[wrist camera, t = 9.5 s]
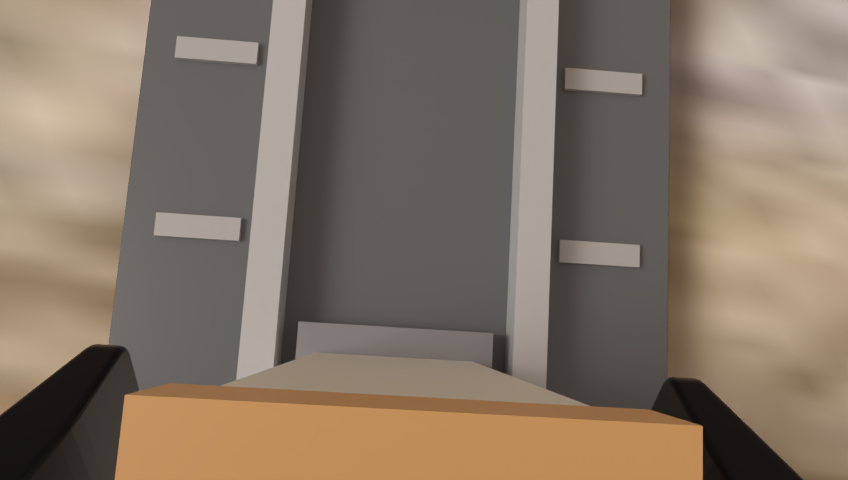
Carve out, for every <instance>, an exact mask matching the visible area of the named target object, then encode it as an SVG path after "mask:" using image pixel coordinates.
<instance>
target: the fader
mask: <svg viewBox="0 0 848 480" xmlns="http://www.w3.org/2000/svg"><path fill="white" fill-rule="evenodd" d="M492 355H493V333H482V332H466V331H449V330H433V329H416V328H399V327H383V326H366V325H350V324H333V323H316V322H300V321H298V333H297V345H296V356H295V360H293V361H290V362H287V363H284V364H281V365H278V366H275V367H273V368H270V369H267V370H264V371H261V372H258V373H255V374H252V375H250V376H247V377H244V378H241V379H238V380H235V381H232V382H230V383H227V384H224V385H221V386H212V385H194V384H176V383H169V384H165V385H161V386H157V387H153V388H149V389H145V390H141V391H137V392H134V393H130V394H126V395H125V397H124V405H123V414H122V422H121V430H120V439H119V447H118V455H117V464H116V472H115V480H703V426H701V425H698V424H695V423H692V422H688V421H685V420H682V419H679V418H675V417H672V416H669V415H666V414H662V413H659V412H656V411H653V410H649V409H631V408H612V407H594V406H589V405H587V404H584V403H581V402H579V401H576V400H573V399H571V398H568V397H565V396H563V395H560V394H557V393H555V392H552V391H549V390H547V389H544V388H542V387H539V386H536V385H534V384H531V383H528V382H526V381H523V380H520V379H518V378H515V377H512V376H510V375H507V374H504V373H502V372H499V371H497V370H494V369H492Z"/></svg>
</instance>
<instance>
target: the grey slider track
mask: <svg viewBox="0 0 848 480" xmlns="http://www.w3.org/2000/svg"><path fill="white" fill-rule="evenodd" d="M669 96H670V0H151V7H150V16H149V24H148V32H147V40H146V48H145V56H144V64H143V72H142V80H141V88H140V96H139V104H138V112H137V120H136V128H135V136H134V144H133V152H132V160H131V168H130V177H129V185H128V193H127V201H126V209H125V217H124V225H123V233H122V241H121V249H120V257H119V265H118V273H117V281H116V289H115V297H114V305H113V313H112V321H111V329H110V338H109V345H119V346H124V347H125V348H126V349H127V350H128V351H129V354H130V357H131V360H132V364H133V368H134V371H135V375H136V379H137V382H138V386H139V391H141V390H145V389H149V388H153V387H157V386H161V385H165V384H169V383H176V384H194V385H212V386H221V385H224V384H227V383H230V382H232V381H235V380H238V379H241V378H244V377H247V376H250V375H252V374H255V373H258V372H261V371H264V370H267V369H270V368H273V367H275V366H278V365H281V364H284V363H287V362H290V361H293V360H295V356H296V345H297V333H298V321H300V322H316V323H333V324H350V325H366V326H383V327H399V328H416V329H433V330H449V331H466V332H482V333H493V355H492V369H494V370H497V371H499V372H502V373H504V374H507V375H510V376H512V377H515V378H518V379H520V380H523V381H526V382H528V383H531V384H534V385H536V386H539V387H542V388H544V389H547V390H549V391H552V392H555V393H557V394H560V395H563V396H565V397H568V398H571V399H573V400H576V401H579V402H581V403H584V404H587V405H589V406H594V407H612V408H631V409H649V410H651V409H652V406H653V404H654V402H655V400H656V398H657V396H658V393H659V391H660V389H661V387H662V385H663V383H664V381H666V380H667V334H668V215H669Z"/></svg>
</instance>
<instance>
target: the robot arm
mask: <svg viewBox="0 0 848 480" xmlns="http://www.w3.org/2000/svg"><path fill="white" fill-rule="evenodd" d="M137 391H139V386H138V382H137V379H136V375H135V371H134V368H133V364H132V360H131V357H130V354H129V351H128V350H127V349H126V348H125V347H124V346H119V345H101V344H96V345H92V346H90V347H88V348H86V349H85V350H83V351H82V352H81V353H80V354H78V355H77V356H76V357H74V358H73V359H72V360H71V361H69V362H68V363H67V364H65V365H64V366H63V367H62V368H60V369H59V370H58V371H56V372H55V373H54V374H53V375H51V376H50V377H49V378H47V379H46V380H45V381H44V382H42V383H41V384H40V385H38V386H37V387H36V388H35V389H33V390H32V391H31V392H29V393H28V394H27V395H26V396H24V397H23V398H22V399H20V400H19V401H18V402H17V403H15V404H14V405H13V406H11V407H10V408H9V409H8V410H6V411H5V412H4V413H3V414H1V415H0V480H115V472H116V464H117V455H118V447H119V439H120V430H121V422H122V414H123V405H124V397H125V395H126V394H130V393H134V392H137ZM651 410H653V411H656V412H659V413H662V414H666V415H669V416H672V417H675V418H679V419H682V420H685V421H688V422H692V423H695V424H698V425H701V426H703V480H803V479H802V478H801V477H800V476H799V475H798V474H797V473H796V472H795V471H794V470H793V469H792V468H791V467H790V466H789V465H788V464H787V463H786V462H785V461H784V460H783V459H782V458H781V457H779V456H778V455H777V454H776V453H775V452H774V451H773V450H772V449H771V448H770V447H769V446H768V445H767V444H766V443H765V442H764V441H763V440H762V439H761V438H760V437H759V436H758V435H757V434H756V433H755V432H754V431H753V430H752V429H751V428H750V427H749V426H747V425H746V424H745V423H744V422H743V421H742V420H741V419H740V418H739V417H738V416H737V415H736V414H735V413H734V412H733V411H732V410H731V409H730V408H729V407H728V406H727V405H726V404H725V403H724V402H723V401H722V400H721V399H720V398H719V397H718V396H717V395H716V394H714V393H713V392H712V391H711V390H710V389H709V388H708V387H707V386H706V385H705V384H704V383H703V382H701V381H700V380H697V379H692V378H675V377H672V378H668V379H667V380H666V381H664V383H663V385H662V387H661V389H660V391H659V393H658V396H657V398H656V400H655V402H654V404H653V406H652V409H651Z"/></svg>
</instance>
